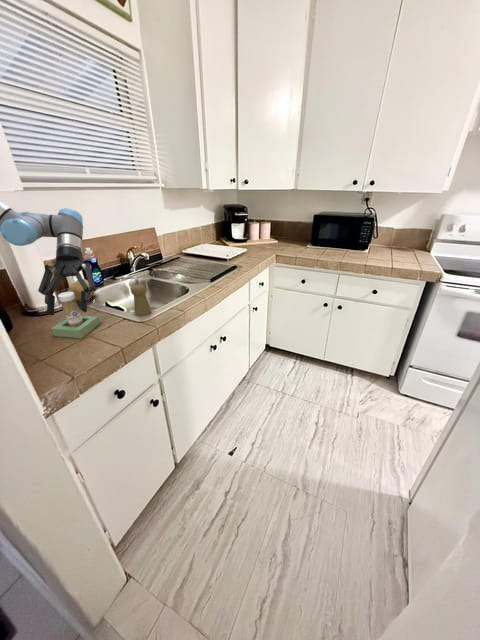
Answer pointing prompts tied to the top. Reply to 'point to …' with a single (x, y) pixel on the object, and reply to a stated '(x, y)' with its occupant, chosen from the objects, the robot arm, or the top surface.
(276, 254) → the top surface
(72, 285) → the potato
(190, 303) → the top surface
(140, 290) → the olive chess piece
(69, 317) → the sprinkles bottle
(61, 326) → the holder
